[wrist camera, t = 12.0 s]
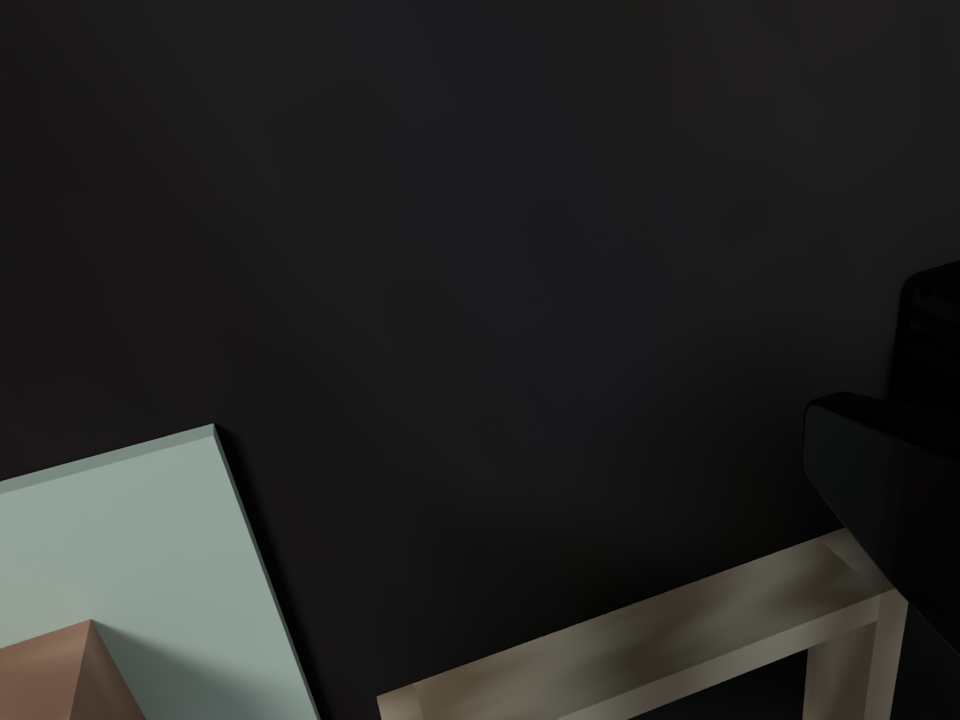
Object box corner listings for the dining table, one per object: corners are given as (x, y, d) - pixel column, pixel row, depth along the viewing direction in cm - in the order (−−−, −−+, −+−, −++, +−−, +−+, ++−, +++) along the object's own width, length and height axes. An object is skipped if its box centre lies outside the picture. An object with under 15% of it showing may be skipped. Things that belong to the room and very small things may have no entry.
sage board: (213, 423, 18) (213, 435, 18) (336, 762, 24) (338, 778, 24) (-423, 596, 16) (-445, 616, 15) (-110, 929, 22) (-118, 952, 21)
